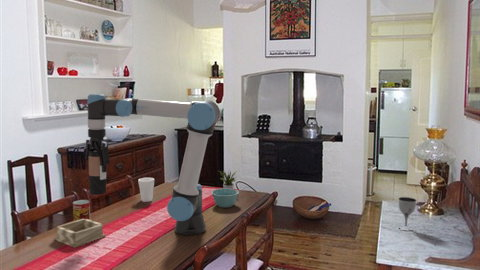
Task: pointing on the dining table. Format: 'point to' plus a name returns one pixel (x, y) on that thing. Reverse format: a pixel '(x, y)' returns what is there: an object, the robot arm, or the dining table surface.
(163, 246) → the dining table surface
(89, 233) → the caddy
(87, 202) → the canned food
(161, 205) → the dining table surface
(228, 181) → the house plant
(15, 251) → the dining table surface
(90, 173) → the travel mug
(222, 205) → the bowl
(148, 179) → the foam cup
